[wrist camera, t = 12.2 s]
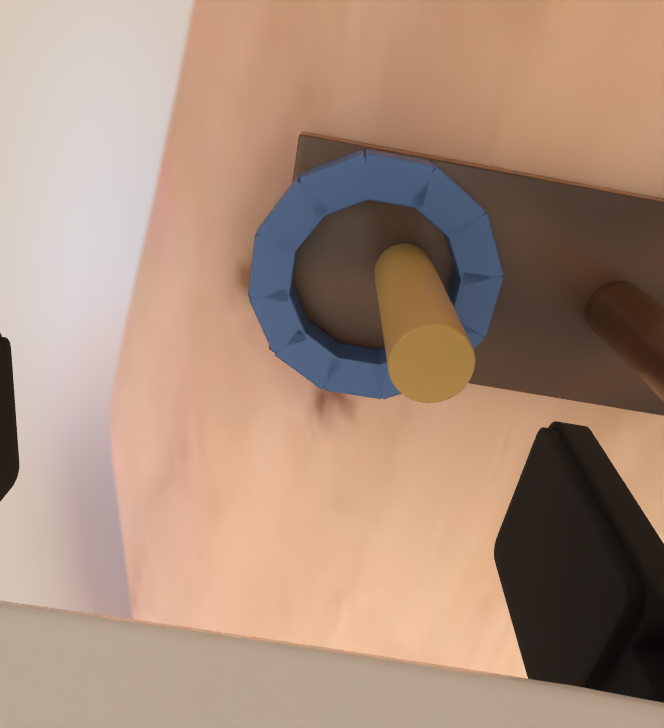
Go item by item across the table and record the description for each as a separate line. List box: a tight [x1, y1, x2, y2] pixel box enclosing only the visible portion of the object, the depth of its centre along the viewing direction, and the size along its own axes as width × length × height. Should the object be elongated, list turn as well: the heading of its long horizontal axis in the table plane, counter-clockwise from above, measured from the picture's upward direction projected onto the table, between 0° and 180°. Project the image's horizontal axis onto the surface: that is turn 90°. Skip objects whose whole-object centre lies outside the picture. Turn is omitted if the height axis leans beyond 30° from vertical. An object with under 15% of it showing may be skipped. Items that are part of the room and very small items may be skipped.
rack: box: [269, 132, 664, 416], centre depth 22 cm, size 9×19×10 cm, turn 80°
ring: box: [248, 149, 503, 399], centre depth 24 cm, size 10×10×2 cm
